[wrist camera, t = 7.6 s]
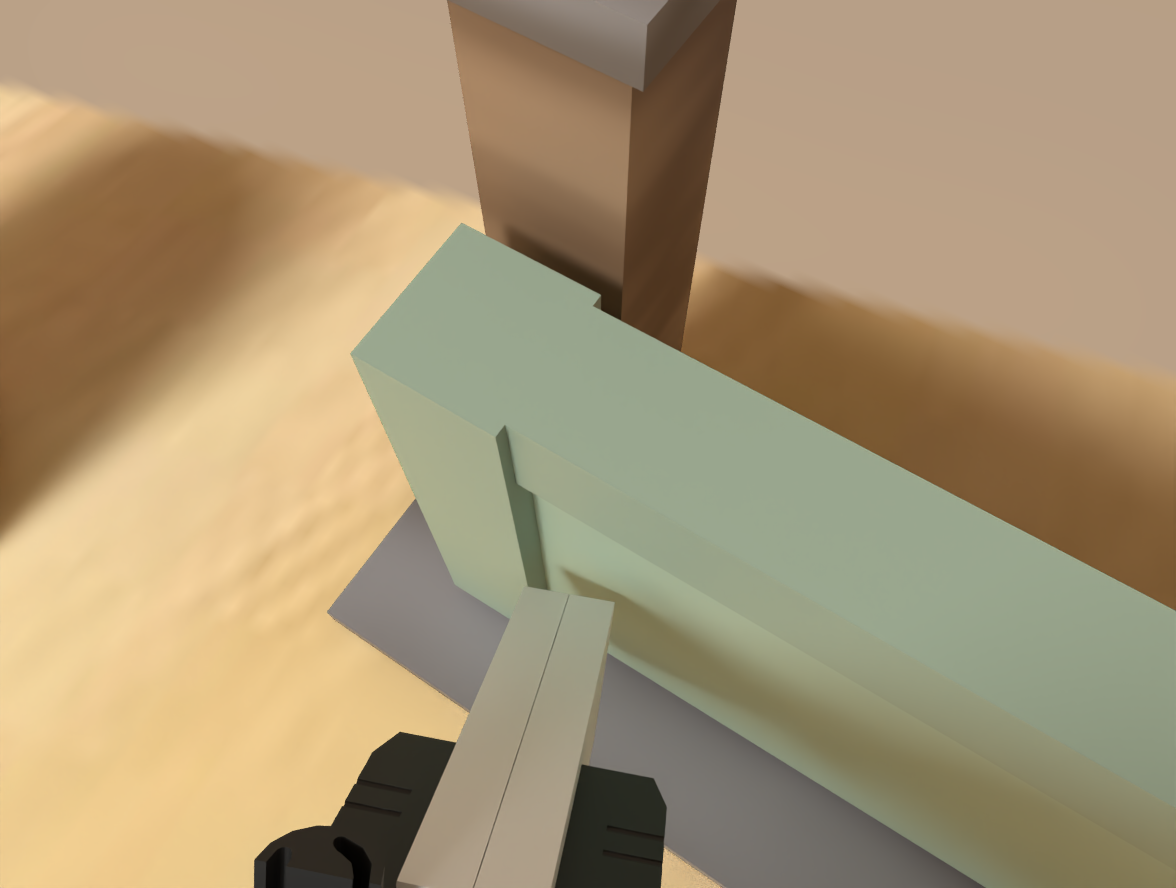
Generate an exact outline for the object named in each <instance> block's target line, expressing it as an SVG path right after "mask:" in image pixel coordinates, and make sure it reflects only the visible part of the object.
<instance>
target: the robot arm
mask: <svg viewBox="0 0 1176 888" xmlns="http://www.w3.org/2000/svg"><path fill="white" fill-rule="evenodd" d="M614 605H615V602H611V601H605V600H600V599H594V598H588V597H583V596H577V595H572V594H570V595H569V594H566V593H560V592H555V591H549V590H543V589H538V588H532V587H526V586H524V588H523V590H522V593H521V595H520V597H519V600H518V602H517V604H516V606H515V609H514V611H513V613H512V616H511V618H510V620H509V623H508V625H507V627H506V630H505V632H504V634H503V636H502V639H501V641H500V643H499V646H498V648H497V650H496V653H495V655H494V657H493V660H492V662H491V664H490V667H489V669H488V671H487V673H486V676H485V678H484V680H483V683H482V685H481V687H480V690H479V692H478V694H477V697H476V699H475V701H474V703H473V706H472V708H471V710H470V713H469V715H468V717H467V720H466V722H465V724H464V727H463V729H462V731H461V733H460V736H459V738H458V740H457V743H455V742H450V741H445V740H439V739H434V738H429V737H424V736H419V735H413V734H408V733H403V732H399V733H398V734H396V735H395V736H394V737H392V738H391V739H390V740H388V741H387V742H386V743H384V744H383V745H382V746H380V747H379V748H378V749H376V750H375V751H373V752H372V754H371V756H370V758H369V759H368V761H367V763H366V765H365V767H364V768H363V770H362V772H361V774H360V775H359V777H358V780H357V784H354V786H353V788H352V790H351V791H350V793H349V795H348V797H347V799H346V800H345V805H344V806H342V807H341V809H340V811H339V813H338V815H337V816H336V818H335V820H334V822H333V823H332V825H331V826H313V827H309V828H304V829H300V830H295V831H292V832H290V833H288V834H286V835H284V836H282V837H280V838H279V839H277V840H275V841H273V842H271V843H270V844H269V845H268V846H267V847H266V848H265V849H264V850H263V851H262V852H261V853H260V854H259V855H258V856H257V858H256V859H255V860H254V888H661V877H662V862H663V851H664V837H665V825H666V812H667V806H666V804H665V802H664V799H663V797H662V795H661V793H660V791H659V789H658V786H657V784H656V782H655V780H654V778H650V777H645V776H640V775H635V774H629V773H624V772H619V771H614V770H609V769H603V768H598V767H593V766H589V762H590V757H591V752H592V747H593V743H594V737H595V730H596V724H597V717H598V710H599V704H600V697H601V691H602V684H603V677H604V671H605V664H606V658H607V651H608V645H609V638H610V631H611V625H612V618H613V612H614Z"/></svg>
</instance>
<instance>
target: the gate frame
mask: <svg viewBox="0 0 1176 888" xmlns="http://www.w3.org/2000/svg"><path fill="white" fill-rule="evenodd" d="M447 2H448V8H449V14H450V20H451V26H452V33H453V39H454V44H455V51H456V57H457V63H458V68H459V75H460V81H461V87H462V93H463V99H464V105H465V111H466V118H467V124H468V130H469V136H470V142H471V148H472V154H473V160H474V166H475V172H476V178H477V184H478V190H479V196H480V203H481V209H482V215H483V221H484V227H485V233H486V236H488V237H490V238H492V239H494V240H496V241H498V242H500V243H502V244H504V245H505V246H507V247H509V248H511V249H513V250H515V251H517V252H519V253H521V254H523V255H525V256H527V257H529V258H531V259H532V260H534V261H536V262H538V263H540V264H542V265H544V266H546V267H548V268H550V269H552V270H554V271H556V272H558V273H560V274H561V275H563V276H565V277H567V278H569V279H571V280H573V281H575V282H577V283H579V284H581V285H583V286H585V287H587V288H588V289H590V290H592V291H594V292H596V293H598V294H600V295H601V311H603V312H605V313H607V314H609V315H611V316H613V317H615V318H617V319H618V320H620V321H622V322H624V323H626V324H628V325H630V326H632V327H634V328H636V329H638V330H640V331H641V332H643V333H645V334H647V335H649V336H651V337H653V338H655V339H657V340H659V341H661V342H662V343H664V344H666V345H668V346H670V347H672V348H674V349H676V350H678V351H680V352H681V346H682V340H683V333H684V327H685V321H686V315H687V308H688V302H689V296H690V290H691V283H692V277H693V271H694V265H695V258H696V252H697V246H698V240H699V233H700V227H701V221H702V214H703V208H704V202H705V196H706V189H707V183H708V177H709V170H710V164H711V158H712V152H713V146H714V140H715V133H716V127H717V120H718V115H719V108H720V102H721V95H722V90H723V82H724V77H725V71H726V64H727V58H728V52H729V46H730V39H731V33H732V27H733V21H734V15H735V8H736V2H737V0H447ZM327 613H328V614H329V615H330V616H331V617H332V618H333V619H334V620H336V621H337V622H338V623H340V624H341V625H343V626H344V627H346V628H347V629H349V630H350V631H351V632H353V633H354V634H356V635H357V636H359V637H360V638H362V639H363V640H365V641H366V642H367V643H369V644H370V645H372V646H373V647H375V648H376V649H378V650H379V651H380V652H382V653H383V654H385V655H386V656H388V657H389V658H391V659H392V660H394V661H395V662H396V663H398V664H399V665H401V666H402V667H404V668H405V669H407V670H408V671H409V672H411V673H412V674H414V675H415V676H417V677H418V678H420V679H421V680H422V681H424V682H425V683H427V684H428V685H430V686H431V687H433V688H434V689H436V690H437V691H438V692H440V693H441V694H443V695H444V696H446V697H447V698H449V699H450V700H451V701H453V702H454V703H456V704H457V705H459V706H460V707H462V708H463V709H465V710H466V711H467V712H469V713H470V710H471V708H472V706H473V703H474V701H475V699H476V697H477V694H478V692H479V690H480V687H481V685H482V683H483V680H484V678H485V676H486V673H487V671H488V669H489V667H490V664H491V662H492V660H493V657H494V655H495V653H496V650H497V648H498V646H499V643H500V641H501V639H502V636H503V634H504V632H505V630H506V627H507V625H508V623H509V620H510V619H509V618H507V617H505V616H504V615H502V614H501V613H499V612H497V611H496V610H494V609H493V608H491V607H490V606H488V605H486V604H485V603H483V602H482V601H480V600H478V599H477V598H475V597H474V596H472V595H470V594H469V593H467V592H466V591H464V590H462V589H461V588H459V587H458V586H456V585H455V584H454V582H453V579H452V577H451V575H450V573H449V571H448V568H447V566H446V564H445V562H444V560H443V557H442V555H441V553H440V551H439V548H438V546H437V544H436V542H435V540H434V537H433V535H432V533H431V531H430V529H429V526H428V524H427V522H426V520H425V518H424V515H423V513H422V511H421V509H420V506H419V504H418V502H417V500H416V499H415V500H414V501H413V503H412V504H411V505H410V506H409V508H408V509H407V510H406V512H405V513H404V514H403V515H402V517H401V518H400V519H399V520H398V522H397V523H396V524H395V526H394V527H393V528H392V529H391V531H390V532H389V533H388V535H387V536H386V537H385V538H384V540H383V541H382V542H381V543H380V545H379V546H378V547H377V549H376V550H375V551H374V552H373V554H372V555H371V556H370V558H369V559H368V560H367V561H366V563H365V564H364V565H363V566H362V568H361V569H360V570H359V572H358V573H357V574H356V575H355V577H354V578H353V579H352V580H351V582H350V583H349V584H348V586H347V587H346V588H345V589H344V591H343V592H342V593H341V595H340V596H339V597H338V598H337V600H336V601H335V602H334V603H333V605H332V606H331V607H330V609H329V610H328V611H327ZM589 766H593V767H598V768H603V769H609V770H614V771H619V772H624V773H629V774H635V775H640V776H645V777H650V778H654V780H655V782H656V784H657V786H658V789H659V791H660V793H661V795H662V797H663V799H664V802H665V804H666V806H667V812H666V825H665V837H664V848H666V849H667V850H669V851H670V852H672V853H673V854H675V855H676V856H677V857H679V858H680V859H682V860H683V861H685V862H686V863H688V864H689V865H691V866H692V867H693V868H695V869H696V870H698V871H699V872H701V873H702V874H704V875H705V876H706V877H708V878H709V879H711V880H712V881H714V882H715V883H717V884H718V885H720V886H721V887H722V888H986V887H984V886H982V885H981V884H979V883H977V882H976V881H974V880H973V879H971V878H969V877H968V876H966V875H965V874H963V873H961V872H960V871H958V870H957V869H955V868H953V867H952V866H950V865H949V864H947V863H945V862H944V861H942V860H940V859H939V858H937V857H936V856H934V855H932V854H931V853H929V852H928V851H926V850H924V849H923V848H921V847H920V846H918V845H916V844H915V843H913V842H911V841H910V840H908V839H907V838H905V837H903V836H902V835H900V834H899V833H897V832H895V831H894V830H892V829H891V828H889V827H887V826H886V825H884V824H882V823H881V822H879V821H878V820H876V819H874V818H873V817H871V816H870V815H868V814H866V813H865V812H863V811H862V810H860V809H858V808H857V807H855V806H854V805H852V804H850V803H849V802H847V801H845V800H844V799H842V798H841V797H839V796H837V795H836V794H834V793H833V792H831V791H829V790H828V789H826V788H825V787H823V786H821V785H820V784H818V783H816V782H815V781H813V780H812V779H810V778H808V777H807V776H805V775H804V774H802V773H800V772H799V771H797V770H796V769H794V768H792V767H791V766H789V765H787V764H786V763H784V762H783V761H781V760H779V759H778V758H776V757H775V756H773V755H771V754H770V753H768V752H767V751H765V750H763V749H762V748H760V747H758V746H757V745H755V744H754V743H752V742H750V741H749V740H747V739H746V738H744V737H742V736H741V735H739V734H738V733H736V732H734V731H733V730H731V729H730V728H728V727H726V726H725V725H723V724H721V723H720V722H718V721H717V720H715V719H713V718H712V717H710V716H709V715H707V714H705V713H704V712H702V711H701V710H699V709H697V708H696V707H694V706H692V705H691V704H689V703H688V702H686V701H684V700H683V699H681V698H680V697H678V696H676V695H675V694H673V693H672V692H670V691H668V690H667V689H665V688H663V687H662V686H660V685H659V684H657V683H655V682H654V681H652V680H651V679H649V678H647V677H646V676H644V675H643V674H641V673H639V672H638V671H636V670H634V669H633V668H631V667H630V666H628V665H626V664H625V663H623V662H622V661H620V660H618V659H617V658H615V657H614V656H612V655H610V654H609V653H607V658H606V664H605V671H604V677H603V684H602V691H601V697H600V704H599V710H598V717H597V724H596V730H595V737H594V743H593V747H592V752H591V757H590V762H589Z"/></svg>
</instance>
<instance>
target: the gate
mask: <svg viewBox="0 0 1176 888" xmlns="http://www.w3.org/2000/svg"><path fill="white" fill-rule="evenodd" d="M350 354H351V356H352V358H353V361H354V363H355V365H356V367H357V369H358V372H359V374H360V376H361V378H362V380H363V383H364V385H365V387H366V389H367V392H368V394H369V396H370V398H371V400H372V403H373V405H374V407H375V409H376V411H377V414H378V416H379V418H380V420H381V422H382V425H383V427H384V429H385V431H386V434H387V436H388V438H389V440H390V442H391V445H392V447H393V449H394V451H395V453H396V456H397V458H398V460H399V462H400V464H401V467H402V469H403V471H404V473H405V476H406V478H407V480H408V482H409V484H410V487H411V489H412V491H413V493H414V495H415V498H416V500H417V502H418V504H419V506H420V509H421V511H422V513H423V515H424V518H425V520H426V522H427V524H428V526H429V529H430V531H431V533H432V535H433V537H434V540H435V542H436V544H437V546H438V548H439V551H440V553H441V555H442V557H443V560H444V562H445V564H446V566H447V568H448V571H449V573H450V575H451V577H452V579H453V582H454V584H455V585H456V586H458V587H459V588H461V589H462V590H464V591H466V592H467V593H469V594H470V595H472V596H474V597H475V598H477V599H478V600H480V601H482V602H483V603H485V604H486V605H488V606H490V607H491V608H493V609H494V610H496V611H497V612H499V613H501V614H502V615H504V616H505V617H507V618H509V619H510V618H511V616H512V613H513V611H514V609H515V606H516V604H517V602H518V600H519V597H520V595H521V593H522V590H523V588H524V586H526V587H532V588H538V589H543V590H549V591H555V592H560V593H566V594H569V595H570V594H572V595H577V596H583V597H588V598H594V599H600V600H605V601H611V602H615V605H614V612H613V618H612V625H611V631H610V638H609V645H608V651H607V653H609V654H610V655H612V656H614V657H615V658H617V659H618V660H620V661H622V662H623V663H625V664H626V665H628V666H630V667H631V668H633V669H634V670H636V671H638V672H639V673H641V674H643V675H644V676H646V677H647V678H649V679H651V680H652V681H654V682H655V683H657V684H659V685H660V686H662V687H663V688H665V689H667V690H668V691H670V692H672V693H673V694H675V695H676V696H678V697H680V698H681V699H683V700H684V701H686V702H688V703H689V704H691V705H692V706H694V707H696V708H697V709H699V710H701V711H702V712H704V713H705V714H707V715H709V716H710V717H712V718H713V719H715V720H717V721H718V722H720V723H721V724H723V725H725V726H726V727H728V728H730V729H731V730H733V731H734V732H736V733H738V734H739V735H741V736H742V737H744V738H746V739H747V740H749V741H750V742H752V743H754V744H755V745H757V746H758V747H760V748H762V749H763V750H765V751H767V752H768V753H770V754H771V755H773V756H775V757H776V758H778V759H779V760H781V761H783V762H784V763H786V764H787V765H789V766H791V767H792V768H794V769H796V770H797V771H799V772H800V773H802V774H804V775H805V776H807V777H808V778H810V779H812V780H813V781H815V782H816V783H818V784H820V785H821V786H823V787H825V788H826V789H828V790H829V791H831V792H833V793H834V794H836V795H837V796H839V797H841V798H842V799H844V800H845V801H847V802H849V803H850V804H852V805H854V806H855V807H857V808H858V809H860V810H862V811H863V812H865V813H866V814H868V815H870V816H871V817H873V818H874V819H876V820H878V821H879V822H881V823H882V824H884V825H886V826H887V827H889V828H891V829H892V830H894V831H895V832H897V833H899V834H900V835H902V836H903V837H905V838H907V839H908V840H910V841H911V842H913V843H915V844H916V845H918V846H920V847H921V848H923V849H924V850H926V851H928V852H929V853H931V854H932V855H934V856H936V857H937V858H939V859H940V860H942V861H944V862H945V863H947V864H949V865H950V866H952V867H953V868H955V869H957V870H958V871H960V872H961V873H963V874H965V875H966V876H968V877H969V878H971V879H973V880H974V881H976V882H977V883H979V884H981V885H982V886H984V887H986V888H1176V611H1175V610H1173V609H1171V608H1169V607H1168V606H1166V605H1164V604H1162V603H1160V602H1158V601H1156V600H1154V599H1152V598H1150V597H1148V596H1147V595H1145V594H1143V593H1141V592H1139V591H1137V590H1135V589H1133V588H1131V587H1129V586H1127V585H1125V584H1124V583H1122V582H1120V581H1118V580H1116V579H1114V578H1112V577H1110V576H1108V575H1106V574H1104V573H1103V572H1101V571H1099V570H1097V569H1095V568H1093V567H1091V566H1089V565H1087V564H1085V563H1083V562H1081V561H1080V560H1078V559H1076V558H1074V557H1072V556H1070V555H1068V554H1066V553H1064V552H1062V551H1060V550H1059V549H1057V548H1055V547H1053V546H1051V545H1049V544H1047V543H1045V542H1043V541H1041V540H1039V539H1037V538H1036V537H1034V536H1032V535H1030V534H1028V533H1026V532H1024V531H1022V530H1020V529H1018V528H1016V527H1015V526H1013V525H1011V524H1009V523H1007V522H1005V521H1003V520H1001V519H999V518H997V517H995V516H993V515H992V514H990V513H988V512H986V511H984V510H982V509H980V508H978V507H976V506H974V505H972V504H970V503H969V502H967V501H965V500H963V499H961V498H959V497H957V496H955V495H953V494H951V493H949V492H948V491H946V490H944V489H942V488H940V487H938V486H936V485H934V484H932V483H930V482H928V481H926V480H925V479H923V478H921V477H919V476H917V475H915V474H913V473H911V472H909V471H907V470H905V469H904V468H902V467H900V466H898V465H896V464H894V463H892V462H890V461H888V460H886V459H884V458H882V457H881V456H879V455H877V454H875V453H873V452H871V451H869V450H867V449H865V448H863V447H861V446H860V445H858V444H856V443H854V442H852V441H850V440H848V439H846V438H844V437H842V436H840V435H838V434H837V433H835V432H833V431H831V430H829V429H827V428H825V427H823V426H821V425H819V424H817V423H816V422H814V421H812V420H810V419H808V418H806V417H804V416H802V415H800V414H798V413H796V412H794V411H793V410H791V409H789V408H787V407H785V406H783V405H781V404H779V403H777V402H775V401H773V400H772V399H770V398H768V397H766V396H764V395H762V394H760V393H758V392H756V391H754V390H752V389H750V388H749V387H747V386H745V385H743V384H741V383H739V382H737V381H735V380H733V379H731V378H729V377H728V376H726V375H724V374H722V373H720V372H718V371H716V370H714V369H712V368H710V367H708V366H706V365H705V364H703V363H701V362H699V361H697V360H695V359H693V358H691V357H689V356H687V355H685V354H684V353H682V352H680V351H678V350H676V349H674V348H672V347H670V346H668V345H666V344H664V343H662V342H661V341H659V340H657V339H655V338H653V337H651V336H649V335H647V334H645V333H643V332H641V331H640V330H638V329H636V328H634V327H632V326H630V325H628V324H626V323H624V322H622V321H620V320H618V319H617V318H615V317H613V316H611V315H609V314H607V313H605V312H603V311H601V295H600V294H598V293H596V292H594V291H592V290H590V289H588V288H587V287H585V286H583V285H581V284H579V283H577V282H575V281H573V280H571V279H569V278H567V277H565V276H563V275H561V274H560V273H558V272H556V271H554V270H552V269H550V268H548V267H546V266H544V265H542V264H540V263H538V262H536V261H534V260H532V259H531V258H529V257H527V256H525V255H523V254H521V253H519V252H517V251H515V250H513V249H511V248H509V247H507V246H505V245H504V244H502V243H500V242H498V241H496V240H494V239H492V238H490V237H488V236H486V235H484V234H482V233H480V232H478V231H477V230H475V229H473V228H471V227H469V226H467V225H465V224H463V223H461V224H460V225H459V226H458V228H457V229H456V230H455V231H454V232H453V233H452V235H451V236H450V237H449V238H448V239H447V241H446V242H445V243H444V244H443V245H442V246H441V248H440V249H439V250H438V251H437V252H436V253H435V255H434V256H433V257H432V258H431V259H430V261H429V262H428V263H427V264H426V265H425V266H424V268H423V269H422V270H421V271H420V272H419V273H418V275H417V276H416V277H415V278H414V279H413V281H412V282H411V283H410V284H409V285H408V286H407V288H406V289H405V290H404V291H403V292H402V293H401V295H400V296H399V297H398V298H397V299H396V301H395V302H394V303H393V304H392V305H391V306H390V308H389V309H388V310H387V311H386V312H385V313H384V315H383V316H382V317H381V318H380V319H379V320H378V322H377V323H376V324H375V325H374V326H373V328H372V329H371V330H370V331H369V332H368V333H367V335H366V336H365V337H364V338H363V339H362V340H361V342H360V343H359V344H358V345H357V346H356V348H355V349H354V350H353V351H352V352H351V353H350Z"/></svg>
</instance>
